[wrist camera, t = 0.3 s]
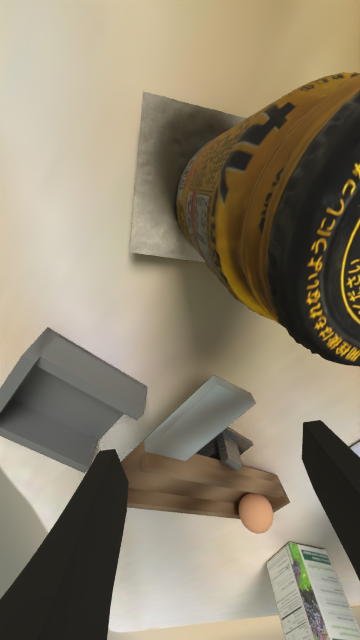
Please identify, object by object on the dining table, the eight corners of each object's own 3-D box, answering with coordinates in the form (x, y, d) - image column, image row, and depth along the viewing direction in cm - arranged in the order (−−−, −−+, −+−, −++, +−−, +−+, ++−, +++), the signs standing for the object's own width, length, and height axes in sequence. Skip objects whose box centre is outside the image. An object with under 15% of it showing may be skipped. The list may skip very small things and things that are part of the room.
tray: (147, 386, 21) (142, 421, 18) (93, 442, 23) (81, 481, 20) (47, 327, 18) (21, 355, 15) (0, 397, 21) (-30, 433, 18)
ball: (262, 481, 25) (284, 515, 24) (240, 496, 26) (260, 529, 25) (250, 492, 23) (274, 530, 21) (226, 508, 24) (248, 546, 22)
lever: (335, 435, 24) (355, 461, 22) (240, 499, 28) (250, 526, 26) (213, 374, 16) (227, 408, 14) (104, 477, 20) (103, 514, 18)
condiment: (263, 269, 17) (468, 412, 6) (129, 251, 15) (103, 400, 5) (306, 134, 14) (850, -32, 3) (142, 93, 12) (155, -508, 2)
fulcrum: (252, 442, 24) (261, 471, 21) (192, 487, 27) (194, 518, 24) (211, 417, 22) (216, 445, 20) (152, 468, 25) (150, 499, 23)
